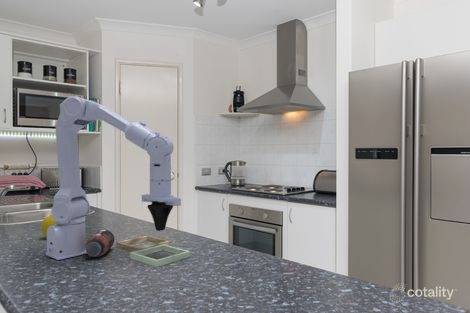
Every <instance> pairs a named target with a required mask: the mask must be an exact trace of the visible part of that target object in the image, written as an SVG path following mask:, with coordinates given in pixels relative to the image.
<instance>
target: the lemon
mask: <svg viewBox="0 0 470 313" xmlns="http://www.w3.org/2000/svg"><path fill="white" fill-rule="evenodd" d="M55 224H56V221H55V220H54V219H53V217H52V214H50V215H48V216H46V217H44V219H43V220H42V223H41V232H42V234H43V235H44V236H45V237H46V238H47V229H48V227H49V226H52V225H55Z"/></svg>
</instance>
